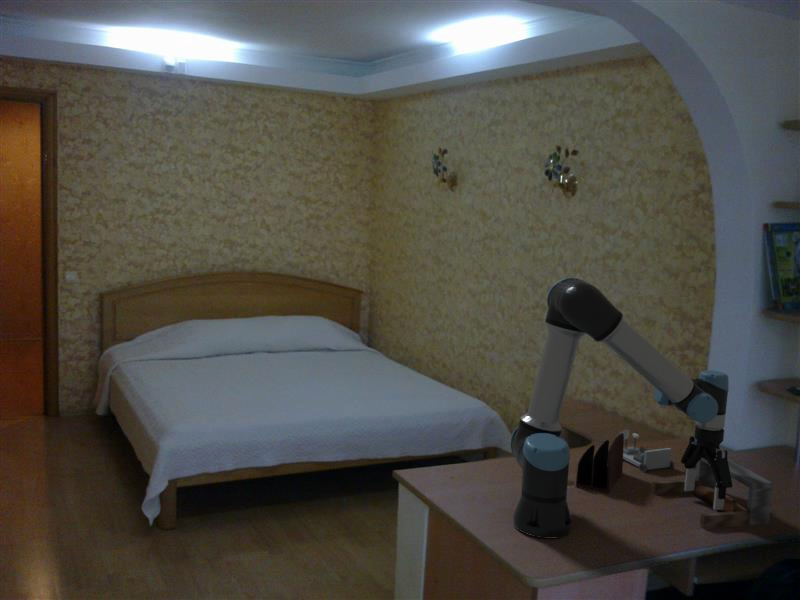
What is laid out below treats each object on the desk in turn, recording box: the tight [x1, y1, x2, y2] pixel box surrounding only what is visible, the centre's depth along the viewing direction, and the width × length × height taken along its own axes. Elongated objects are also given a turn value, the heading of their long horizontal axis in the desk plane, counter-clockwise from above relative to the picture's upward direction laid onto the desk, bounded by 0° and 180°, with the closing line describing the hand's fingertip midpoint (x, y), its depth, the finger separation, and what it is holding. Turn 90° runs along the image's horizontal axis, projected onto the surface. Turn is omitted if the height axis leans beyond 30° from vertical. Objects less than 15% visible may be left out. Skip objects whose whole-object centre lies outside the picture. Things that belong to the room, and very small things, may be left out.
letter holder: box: [575, 433, 625, 494], centre depth 239 cm, size 10×20×14 cm, turn 153°
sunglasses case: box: [693, 486, 747, 513], centre depth 221 cm, size 18×7×7 cm
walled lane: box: [652, 458, 774, 530], centre depth 220 cm, size 20×25×12 cm
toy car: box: [617, 427, 675, 474], centre depth 256 cm, size 18×10×12 cm
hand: (703, 499), depth 220 cm, fingers open, 13 cm apart
